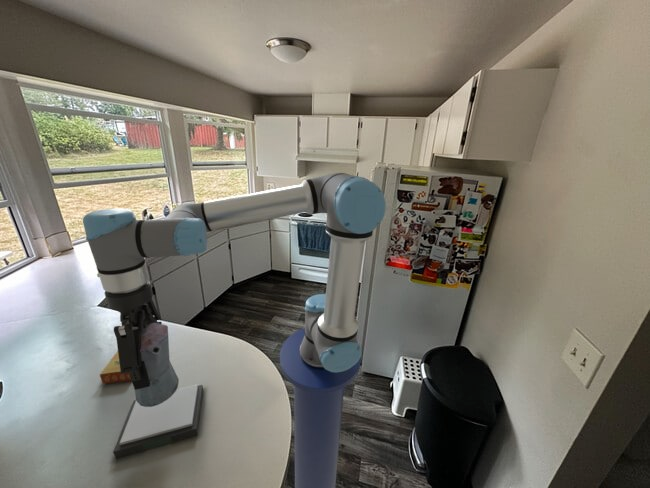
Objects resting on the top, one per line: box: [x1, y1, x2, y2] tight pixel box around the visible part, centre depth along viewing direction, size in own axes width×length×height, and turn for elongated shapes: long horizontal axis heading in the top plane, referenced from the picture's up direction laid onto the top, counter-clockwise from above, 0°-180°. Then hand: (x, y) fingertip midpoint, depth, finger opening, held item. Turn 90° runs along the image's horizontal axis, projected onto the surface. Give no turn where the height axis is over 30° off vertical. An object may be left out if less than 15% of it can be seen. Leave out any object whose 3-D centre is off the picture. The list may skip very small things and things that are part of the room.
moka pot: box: [134, 323, 180, 407], centre depth 58 cm, size 10×15×20 cm, turn 58°
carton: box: [99, 350, 132, 385], centre depth 82 cm, size 8×16×4 cm, turn 12°
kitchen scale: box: [112, 384, 204, 460], centre depth 65 cm, size 17×13×3 cm
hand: (150, 367), depth 59 cm, fingers closed on moka pot, 10 cm apart
